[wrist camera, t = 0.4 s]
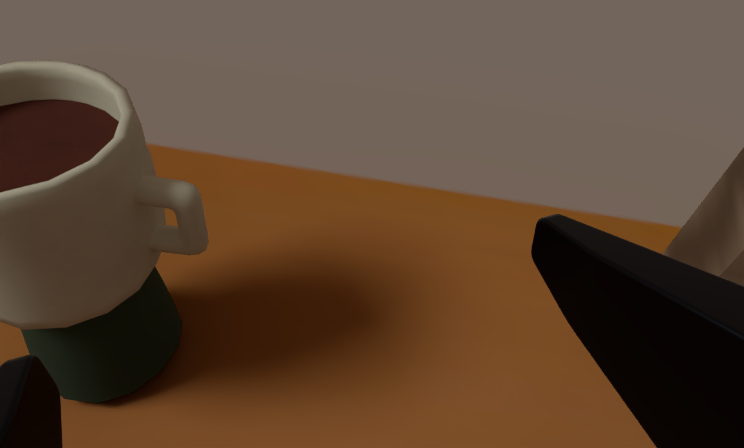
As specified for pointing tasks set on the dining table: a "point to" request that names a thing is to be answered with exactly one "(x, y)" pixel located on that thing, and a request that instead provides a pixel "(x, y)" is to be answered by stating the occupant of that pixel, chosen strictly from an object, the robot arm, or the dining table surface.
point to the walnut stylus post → (716, 229)
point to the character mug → (87, 230)
